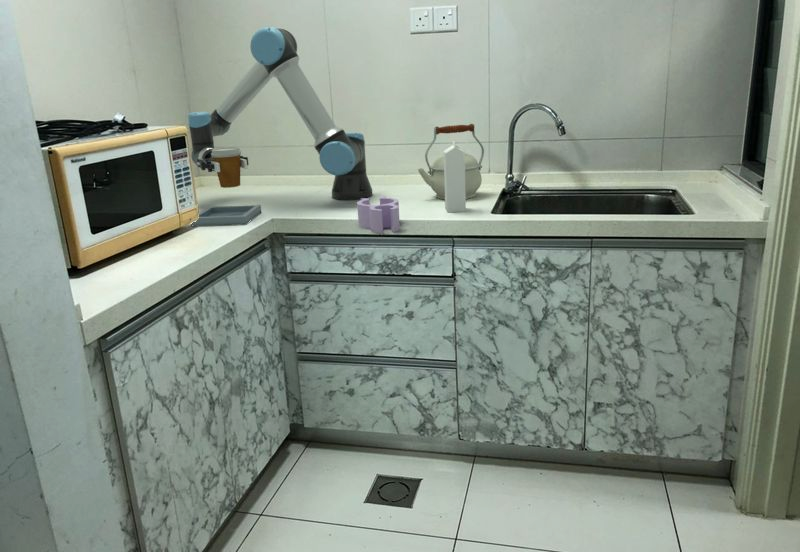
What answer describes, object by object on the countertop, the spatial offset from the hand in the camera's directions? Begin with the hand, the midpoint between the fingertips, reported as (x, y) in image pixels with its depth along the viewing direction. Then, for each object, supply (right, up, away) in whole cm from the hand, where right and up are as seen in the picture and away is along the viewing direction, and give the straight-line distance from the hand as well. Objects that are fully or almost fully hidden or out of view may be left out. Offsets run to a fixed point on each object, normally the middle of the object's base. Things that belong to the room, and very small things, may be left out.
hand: (232, 165), depth 208 cm
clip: (+47, -20, -11) cm, 53 cm away
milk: (+71, -14, +4) cm, 73 cm away
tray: (-4, -16, +8) cm, 19 cm away
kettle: (+72, -7, +26) cm, 77 cm away
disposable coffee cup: (-2, -6, +6) cm, 9 cm away
